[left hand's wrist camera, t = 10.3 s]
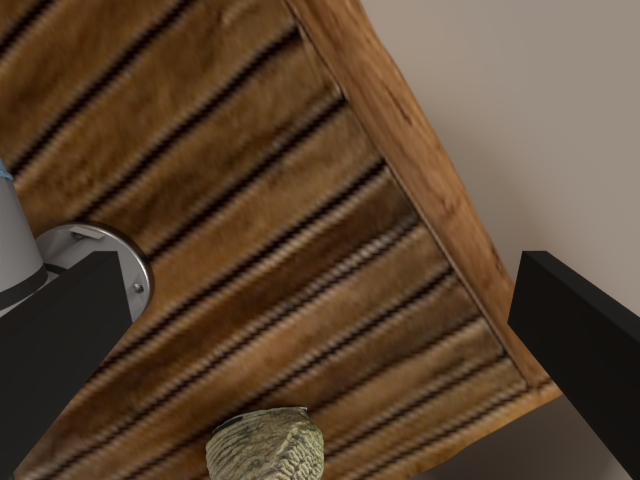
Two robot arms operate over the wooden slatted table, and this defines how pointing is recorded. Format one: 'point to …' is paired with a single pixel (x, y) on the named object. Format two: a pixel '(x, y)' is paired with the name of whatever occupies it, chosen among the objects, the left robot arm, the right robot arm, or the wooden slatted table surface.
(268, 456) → the fossil
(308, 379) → the wooden slatted table surface
